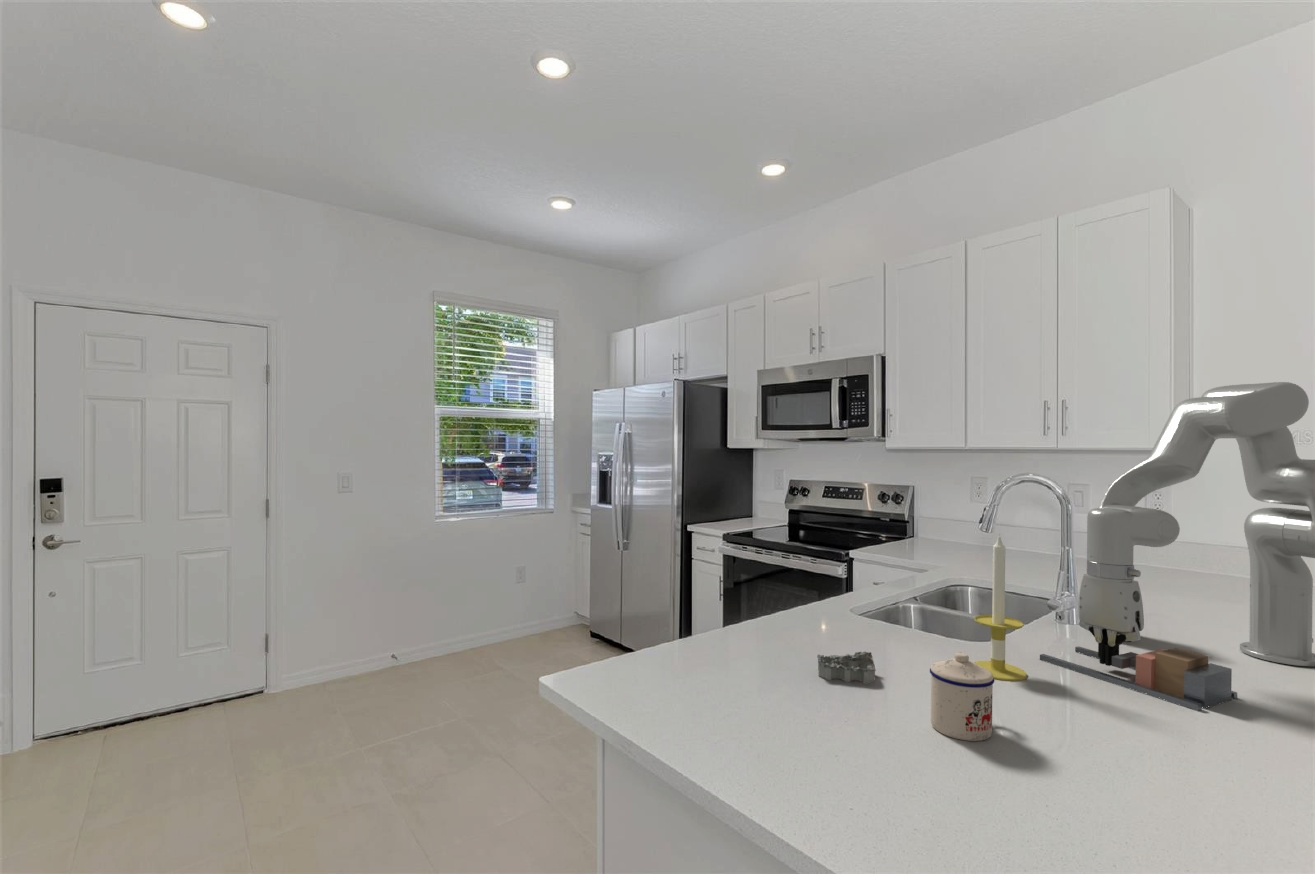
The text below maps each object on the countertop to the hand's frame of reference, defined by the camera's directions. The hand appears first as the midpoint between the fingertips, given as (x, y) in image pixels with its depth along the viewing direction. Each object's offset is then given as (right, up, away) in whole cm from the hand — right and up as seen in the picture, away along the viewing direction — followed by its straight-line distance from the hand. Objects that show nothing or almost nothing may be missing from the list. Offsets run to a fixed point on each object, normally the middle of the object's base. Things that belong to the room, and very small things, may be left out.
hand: (1108, 663), depth 125 cm
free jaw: (+3, -1, -5) cm, 6 cm away
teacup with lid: (-41, -1, -26) cm, 48 cm away
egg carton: (-53, -1, -5) cm, 54 cm away
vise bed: (+2, -1, -4) cm, 4 cm away
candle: (-23, -1, -1) cm, 23 cm away
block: (+5, -1, -11) cm, 12 cm away
